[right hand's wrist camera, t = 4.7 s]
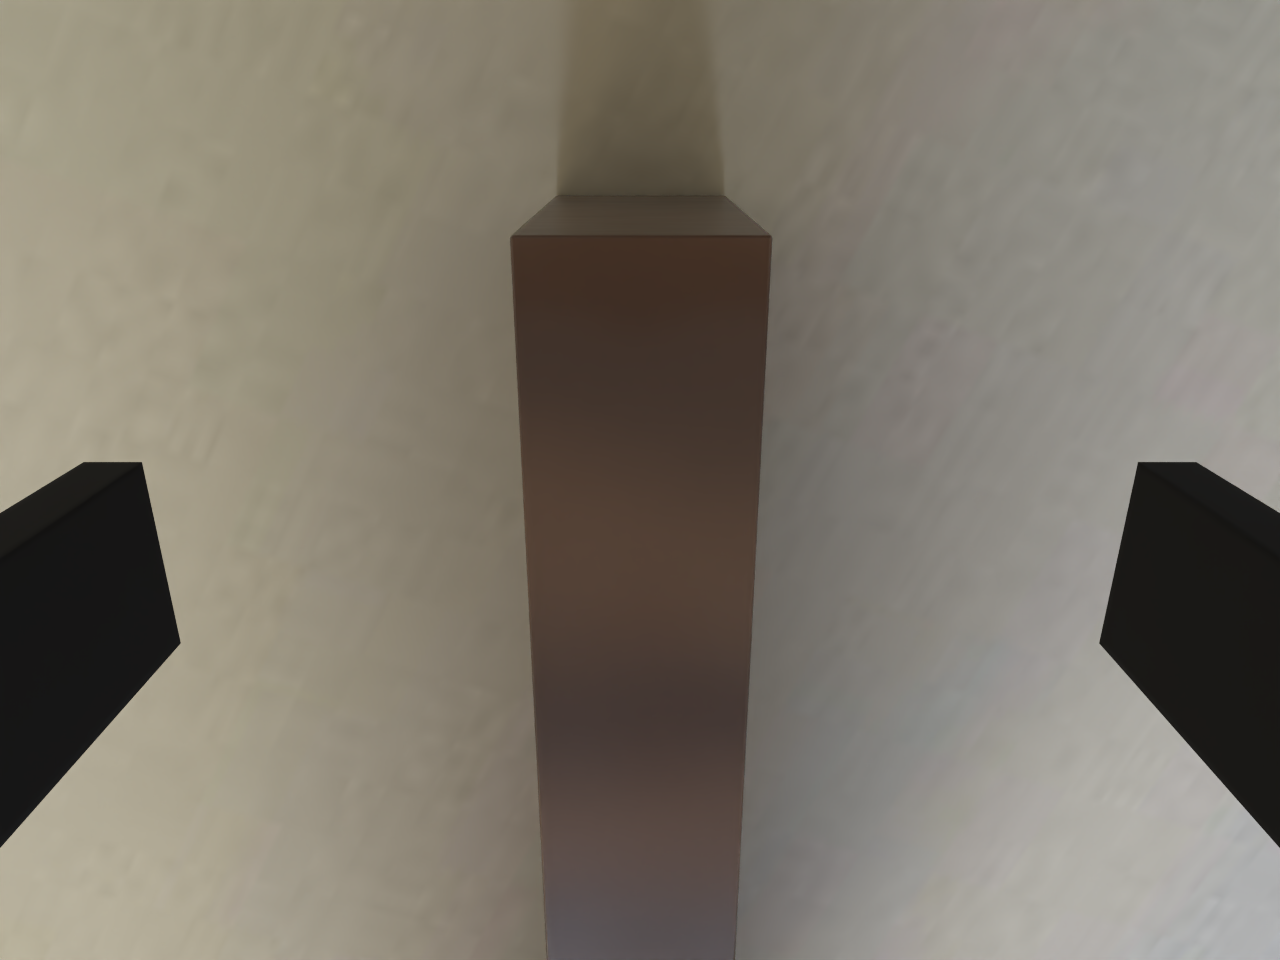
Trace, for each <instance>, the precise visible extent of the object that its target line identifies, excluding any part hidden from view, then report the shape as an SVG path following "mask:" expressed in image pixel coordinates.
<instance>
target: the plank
mask: <svg viewBox="0 0 1280 960" xmlns="http://www.w3.org/2000/svg"><path fill="white" fill-rule="evenodd" d="M510 245H511V265H512V285H513V304H514V324H515V344H516V363H517V383H518V402H519V422H520V442H521V461H522V481H523V501H524V520H525V540H526V559H527V579H528V599H529V618H530V638H531V658H532V677H533V697H534V716H535V736H536V756H537V775H538V795H539V815H540V834H541V854H542V873H543V893H544V913H545V932H546V952H547V960H735V946H736V927H737V908H738V888H739V869H740V850H741V831H742V811H743V792H744V773H745V753H746V734H747V715H748V696H749V676H750V657H751V638H752V619H753V599H754V580H755V561H756V541H757V522H758V503H759V484H760V464H761V445H762V426H763V407H764V387H765V368H766V349H767V329H768V310H769V291H770V272H771V252H772V237H771V235H770V234H768V233H767V232H766V231H765V230H764V229H763V228H761V227H760V226H759V225H758V224H757V223H756V222H754V221H753V220H752V219H751V218H750V217H749V216H748V215H746V214H745V213H744V212H743V211H742V210H741V209H739V208H738V207H737V206H736V205H735V204H734V203H733V202H731V201H730V200H729V199H728V198H727V197H725V196H556V197H555V198H554V199H553V200H551V201H550V202H549V203H548V204H547V205H546V206H545V207H543V208H542V209H541V210H540V211H539V212H538V213H537V214H536V215H534V216H533V217H532V218H531V219H530V220H529V221H528V222H526V223H525V224H524V225H523V226H522V227H521V228H520V229H518V230H517V231H516V232H515V233H514V234H513V235H512V236H511V238H510Z"/></svg>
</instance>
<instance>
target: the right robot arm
mask: <svg viewBox="0 0 1280 960" xmlns="http://www.w3.org/2000/svg"><path fill="white" fill-rule="evenodd" d="M179 644H180V638H179V633H178V629H177V624H176V619H175V615H174V610H173V605H172V601H171V596H170V591H169V587H168V582H167V577H166V573H165V568H164V563H163V559H162V554H161V549H160V545H159V540H158V535H157V531H156V526H155V521H154V517H153V512H152V507H151V503H150V498H149V493H148V489H147V484H146V479H145V475H144V470H143V465H142V462H83V463H82V464H80V465H78V466H77V467H75V468H73V469H72V470H70V471H69V472H67V473H65V474H64V475H62V476H60V477H59V478H57V479H55V480H54V481H52V482H51V483H49V484H47V485H46V486H44V487H42V488H41V489H39V490H37V491H36V492H34V493H33V494H31V495H29V496H28V497H26V498H24V499H23V500H21V501H19V502H18V503H16V504H15V505H13V506H11V507H10V508H8V509H6V510H5V511H3V512H1V513H0V847H1V846H2V845H3V844H4V843H5V842H6V841H7V839H8V838H9V837H10V836H11V835H12V834H13V833H14V832H15V830H16V829H17V828H18V827H19V826H20V825H21V824H22V822H23V821H24V820H25V819H26V818H27V817H28V816H29V815H30V813H31V812H32V811H33V810H34V809H35V808H36V807H37V805H38V804H39V803H40V802H41V801H42V800H43V799H44V798H45V796H46V795H47V794H48V793H49V792H50V791H51V790H52V788H53V787H54V786H55V785H56V784H57V783H58V782H59V781H60V779H61V778H62V777H63V776H64V775H65V774H66V773H67V771H68V770H69V769H70V768H71V767H72V766H73V765H74V764H75V762H76V761H77V760H78V759H79V758H80V757H81V756H82V754H83V753H84V752H85V751H86V750H87V749H88V748H89V747H90V745H91V744H92V743H93V742H94V741H95V740H96V739H97V737H98V736H99V735H100V734H101V733H102V732H103V731H104V730H105V728H106V727H107V726H108V725H109V724H110V723H111V722H112V720H113V719H114V718H115V717H116V716H117V715H118V714H119V713H120V711H121V710H122V709H123V708H124V707H125V706H126V705H127V703H128V702H129V701H130V700H131V699H132V698H133V697H134V695H135V694H136V693H137V692H138V691H139V690H140V689H141V688H142V686H143V685H144V684H145V683H146V682H147V681H148V680H149V678H150V677H151V676H152V675H153V674H154V673H155V672H156V671H157V669H158V668H159V667H160V666H161V665H162V664H163V663H164V661H165V660H166V659H167V658H168V657H169V656H170V655H171V654H172V652H173V651H174V650H175V649H176V648H177V647H178V646H179ZM1100 644H1101V646H1102V647H1103V648H1104V649H1105V650H1106V651H1107V652H1108V654H1109V655H1110V656H1111V657H1112V658H1113V659H1114V660H1115V661H1116V663H1117V664H1118V665H1119V666H1120V667H1121V668H1122V669H1123V671H1124V672H1125V673H1126V674H1127V675H1128V676H1129V677H1130V678H1131V680H1132V681H1133V682H1134V683H1135V684H1136V685H1137V686H1138V688H1139V689H1140V690H1141V691H1142V692H1143V693H1144V694H1145V695H1146V697H1147V698H1148V699H1149V700H1150V701H1151V702H1152V703H1153V705H1154V706H1155V707H1156V708H1157V709H1158V710H1159V711H1160V713H1161V714H1162V715H1163V716H1164V717H1165V718H1166V719H1167V720H1168V722H1169V723H1170V724H1171V725H1172V726H1173V727H1174V728H1175V730H1176V731H1177V732H1178V733H1179V734H1180V735H1181V736H1182V737H1183V739H1184V740H1185V741H1186V742H1187V743H1188V744H1189V745H1190V747H1191V748H1192V749H1193V750H1194V751H1195V752H1196V753H1197V754H1198V756H1199V757H1200V758H1201V759H1202V760H1203V761H1204V762H1205V764H1206V765H1207V766H1208V767H1209V768H1210V769H1211V770H1212V771H1213V773H1214V774H1215V775H1216V776H1217V777H1218V778H1219V779H1220V781H1221V782H1222V783H1223V784H1224V785H1225V786H1226V787H1227V788H1228V790H1229V791H1230V792H1231V793H1232V794H1233V795H1234V796H1235V798H1236V799H1237V800H1238V801H1239V802H1240V803H1241V804H1242V805H1243V807H1244V808H1245V809H1246V810H1247V811H1248V812H1249V813H1250V815H1251V816H1252V817H1253V818H1254V819H1255V820H1256V821H1257V822H1258V824H1259V825H1260V826H1261V827H1262V828H1263V829H1264V830H1265V832H1266V833H1267V834H1268V835H1269V836H1270V837H1271V838H1272V839H1273V841H1274V842H1275V843H1276V844H1277V845H1278V846H1279V847H1280V513H1279V512H1277V511H1275V510H1274V509H1272V508H1270V507H1269V506H1267V505H1265V504H1264V503H1262V502H1261V501H1259V500H1257V499H1256V498H1254V497H1252V496H1251V495H1249V494H1247V493H1246V492H1244V491H1243V490H1241V489H1239V488H1238V487H1236V486H1234V485H1233V484H1231V483H1229V482H1228V481H1226V480H1225V479H1223V478H1221V477H1220V476H1218V475H1216V474H1215V473H1213V472H1211V471H1210V470H1208V469H1207V468H1205V467H1203V466H1202V465H1200V464H1198V463H1197V462H1138V465H1137V470H1136V475H1135V479H1134V484H1133V489H1132V493H1131V498H1130V503H1129V507H1128V512H1127V517H1126V521H1125V526H1124V531H1123V535H1122V540H1121V545H1120V549H1119V554H1118V559H1117V563H1116V568H1115V573H1114V577H1113V582H1112V587H1111V591H1110V596H1109V601H1108V605H1107V610H1106V615H1105V619H1104V624H1103V629H1102V633H1101V638H1100Z"/></svg>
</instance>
